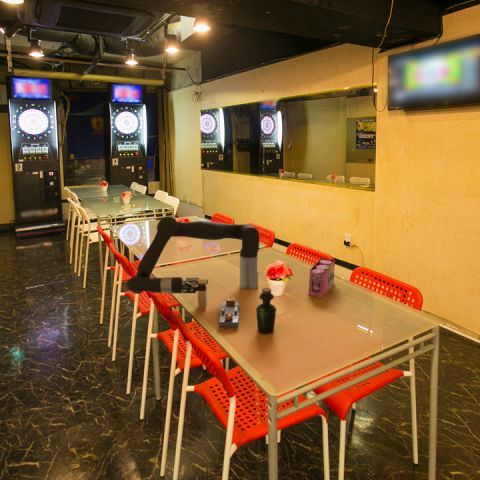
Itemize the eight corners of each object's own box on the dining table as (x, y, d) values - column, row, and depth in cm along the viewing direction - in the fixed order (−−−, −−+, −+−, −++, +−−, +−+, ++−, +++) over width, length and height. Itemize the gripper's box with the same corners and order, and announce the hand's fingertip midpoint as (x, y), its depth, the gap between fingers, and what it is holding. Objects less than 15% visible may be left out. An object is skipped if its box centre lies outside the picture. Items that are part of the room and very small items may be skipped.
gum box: (322, 298, 206) (324, 272, 203) (307, 296, 209) (308, 270, 206) (333, 283, 227) (335, 259, 224) (319, 281, 230) (320, 258, 227)
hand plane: (222, 307, 195) (222, 297, 194) (239, 307, 195) (239, 297, 194) (219, 328, 174) (219, 317, 172) (238, 328, 173) (238, 317, 172)
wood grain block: (199, 305, 197) (198, 279, 194) (207, 305, 197) (206, 279, 194) (198, 309, 193) (197, 283, 189) (206, 309, 192) (205, 283, 189)
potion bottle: (270, 324, 177) (270, 284, 173) (279, 333, 170) (280, 291, 165) (252, 328, 174) (253, 287, 169) (261, 336, 167) (262, 294, 162)
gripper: (168, 282, 185) (205, 282, 184) (174, 272, 199) (208, 272, 198) (169, 298, 187) (205, 298, 186) (174, 287, 200) (208, 287, 200)
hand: (206, 285), depth 192 cm, fingers open, 8 cm apart
